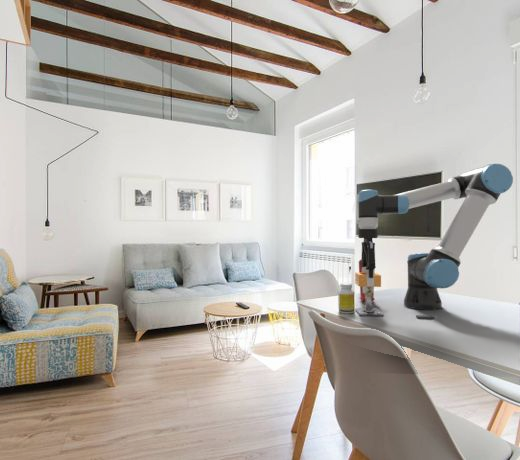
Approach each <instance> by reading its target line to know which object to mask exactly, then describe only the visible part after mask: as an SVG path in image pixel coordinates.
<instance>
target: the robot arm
mask: <svg viewBox="0 0 520 460" xmlns="http://www.w3.org/2000/svg"><path fill="white" fill-rule="evenodd" d="M513 182H514V177H513V175H512V172H511V170H510V168H508V167H507V166H506V165H504V164H501V163H490V164H486V165H484V166H482V167H477V168H475V169H474V168H473V169H471V170H469V171H466V172H464V173H462V174H460V175H457V176H453V177H450V178H449V179H447V181H444V182H439V183H437V184H436V183H435V184H431V185H428V186H424V187H420V188H416V189H413V190H408V191H404V192H401V193H397V194H391V195H389V194H388V195H387V194H385V195H384V194H383V195H381V194H379V192H378V190H376V189H362V190H360V191H359V192H358V201H357V203H358V205H357V207H358V209H357V210H358V219H357V220H356V222H357V223H358V226H357V227H358V231H357V232H358V234H357V235H358V236H357V237H358V238H359V239H363V241H362V242H361V259H360V260H361V265H362V273H367V286H374V269H375V270H376V249H375V247H376V246H375V245H376V243H375V242H373V239H378V236H379V233H378V232H379V230H378V227H379V218H378V217H379V216H380V217H381V216H386V215H394V214H395V215H401V214H402V215H403V214H407V213H408V211H409V210H410V209H413V208H418V207H421V206H425V205H429V204H434V203H438V202H441V201H445V200H449V199H454V200H459V199H463V198H464V200H463V202H462V204H461V206H460V207H459V209H458V210H457V212H456V214H455V216H454V218H453V219H452V221H451V223H450V225H449V226H448V228H447V230H446V232H445V233H444V235H443V236H442V239H441V240H440V243H439V244H438V246H436V247H434V248H432V249H430V251H429V252H425V253H424V252H422V253H419V252H418V253H410V254H408V256H407V289H406V293H405V295H404V296H405V297H404V298H403V306H405V307H408V308H411V309H416V310H417V309H418V310H426V311H427V310H441V309H442V307H443V305H442V304H443V302H442V300H441V296H440V293H439V291H438V289H447V288H450V287H452V286H453V285H455V283H456V282H457V281H458V280H459V276H460V271H459V267H460V265H461V264H462V262H461V259H460V256H461V254H462V253H463V251H464V249H465V248H466V246H467V244H468V242H469V241H470V239H471V237H472V235H473V234H474V231H475V230H476V229H477V227H478V225H479V223H480V222H481V220H482V219H483V216H484V215H485V213H486V211H487V210H488V208H489V206H490V205H494V204H496V203H497V201H498V199H499V197H500V196H501V194H504V193H506V192H508V190H510V188H512V186H513Z"/></svg>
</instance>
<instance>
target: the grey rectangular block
mask: <svg viewBox="0 0 520 460" xmlns="http://www.w3.org/2000/svg"><path fill="white" fill-rule="evenodd" d="M415 318H416V319H418V320H435V318H436V317H435V316H434V315H431V314H430V315H428V314H426V315H425V314H424V315H421V314H420V315H419V314H417V315H415Z"/></svg>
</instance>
